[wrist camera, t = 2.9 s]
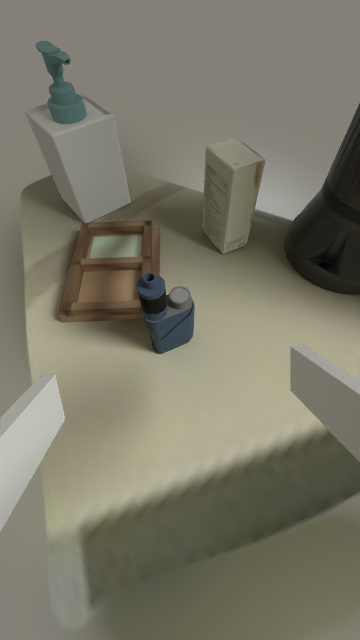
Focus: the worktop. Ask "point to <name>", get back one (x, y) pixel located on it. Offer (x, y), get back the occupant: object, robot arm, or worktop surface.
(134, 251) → the divided wooden tray
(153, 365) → the worktop surface
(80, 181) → the soap bottle
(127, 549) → the worktop surface
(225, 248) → the skincare box
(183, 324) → the vaping device
